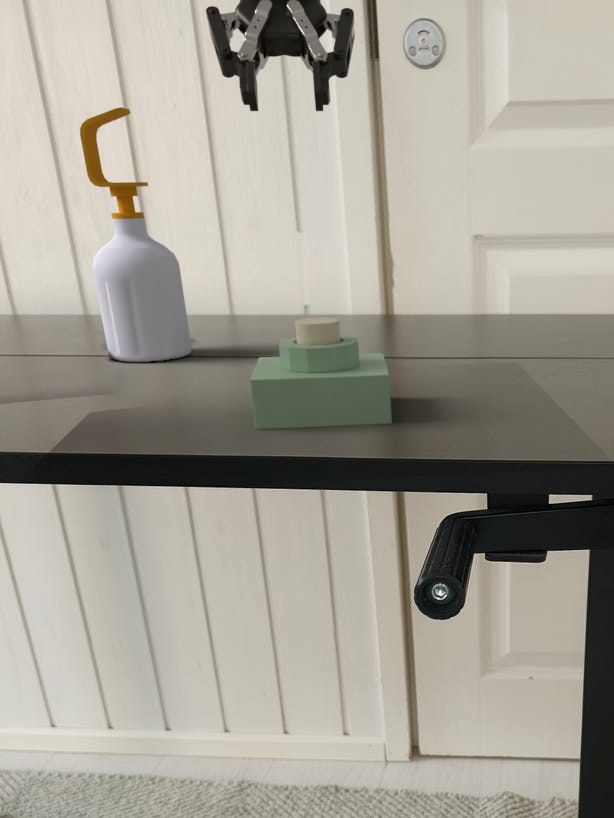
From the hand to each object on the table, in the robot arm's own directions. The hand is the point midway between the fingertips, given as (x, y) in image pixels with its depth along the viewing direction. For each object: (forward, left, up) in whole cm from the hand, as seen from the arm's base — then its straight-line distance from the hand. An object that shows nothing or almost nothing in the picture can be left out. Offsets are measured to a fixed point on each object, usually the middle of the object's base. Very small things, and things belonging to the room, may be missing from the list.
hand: (286, 102), depth 83 cm
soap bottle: (-14, +19, -24) cm, 34 cm away
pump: (-3, -17, -19) cm, 26 cm away
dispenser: (-3, -17, -24) cm, 30 cm away
